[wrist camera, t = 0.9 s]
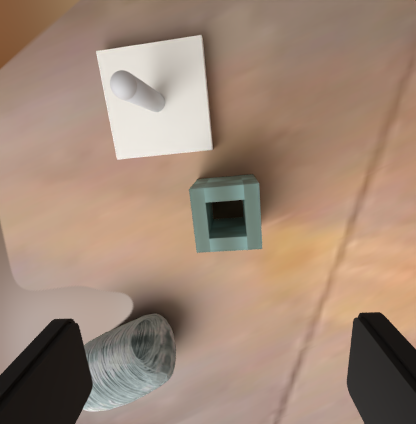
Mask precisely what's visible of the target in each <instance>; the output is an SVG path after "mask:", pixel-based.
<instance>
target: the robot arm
mask: <svg viewBox="0 0 416 424" xmlns="http://www.w3.org/2000/svg"><path fill="white" fill-rule="evenodd" d="M92 387H93V381H92V377H91V373H90V369H89V365H88V361H87V357H86V353H85V349H84V345H83V341H82V337H81V333H80V329H79V325H78V324H77V323H75V322H74V321H73V319H54V320H53V321H51V322H50V323H49V324H48V325H47V326H46V327H45V329H44V330H43V331H42V332H41V333H40V334H39V335H38V336H37V337H36V338H35V339H34V340H33V341H32V342H31V343H30V344H29V345H28V346H27V348H26V349H25V350H24V351H23V352H22V353H21V354H20V355H19V356H18V357H17V358H16V359H15V360H14V361H13V362H12V363H11V364H10V365H9V366H8V368H7V369H6V370H5V371H4V372H3V373H2V374H1V375H0V424H75V423H76V421H77V419H78V417H79V415H80V413H81V411H82V409H83V407H84V405H85V404H86V402H87V400H88V398H89V396H90V394H91V391H92ZM347 387H348V391H349V393H350V396H351V398H352V400H353V402H354V404H355V406H356V408H357V410H358V412H359V414H360V415H361V417H362V419H363V421H364V423H365V424H416V349H415V348H414V347H413V346H412V345H411V344H410V343H409V342H408V341H407V340H406V338H405V337H404V336H403V335H402V334H401V333H400V332H399V331H398V330H397V329H396V328H395V327H394V326H393V325H392V323H391V322H390V321H389V320H388V319H387V318H386V317H385V316H384V315H383V314H382V313H379V312H374V313H360V314H359V316H358V318H354V321H353V329H352V338H351V347H350V356H349V366H348V375H347Z"/></svg>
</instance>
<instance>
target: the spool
mask: <svg viewBox="0 0 416 424" xmlns="http://www.w3.org/2000/svg"><path fill="white" fill-rule="evenodd" d="M84 349H85V353H86V357H87V361H88V365H89V369H90V373H91V377H92V381H93V387H92V391H91V394H90V396H89V398H88V400H87V402H86V404H85V405H84V407H83V409H84V410H87V411H105V410H110V409H113V408H115V407H119V406H123V405H125V404H128V403H131V402H133V401H135V400H137V399H138V398H140V397H143V396H144V395H146V394H148V393H150V392H152V391H153V390H155V389H156V388H158V387H160V386H161V385H162V384H164V383H165V382H167V381H168V380H169V379H170V377H171V376H172V374H173V371H174V367H175V361H176V346H175V339H174V335H173V331H172V328H171V326H170V325H169V323H168V322H167V320H166V319H165V318H164V317H163V316H161V315H159V314H156V313H155V314H149V315H144V316H141V317H140V318H138V319H136V320H133V321H131V322H128V323H126V324H124V325H122V326H119V327H117V328H115V329H113V330H111V331H109V332H106V333H104V334H102V335H100V336H99V337H97V338H95V339H93V340H92V341H90V342H88V343H87V344H85V345H84Z"/></svg>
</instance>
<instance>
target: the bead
mask: <svg viewBox="0 0 416 424" xmlns="http://www.w3.org/2000/svg"><path fill="white" fill-rule="evenodd" d="M189 193H190V201H191V209H192V217H193V225H194V234H195V242H196V250H197V253H199V252H217V251H235V250H252V249H262V233H261V212H260V191H259V182H258V181H257V179H256V178H255V176H254V175H253V174H250V175H238V176H227V177H216V178H205V179H197V181H196V182H195V183H194V184H193V185H192V186H191V188H190V189H189ZM233 200H242V201H243V216H244V217H234V218H220V219H214V218H213V208H212V202H220V201H233Z"/></svg>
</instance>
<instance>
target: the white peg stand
mask: <svg viewBox="0 0 416 424" xmlns="http://www.w3.org/2000/svg"><path fill="white" fill-rule="evenodd" d="M96 54H97V59H98V64H99V69H100V74H101V79H102V84H103V89H104V94H105V99H106V105H107V110H108V115H109V120H110V125H111V130H112V135H113V140H114V145H115V151H116V156H117V159H127V158H137V157H147V156H156V155H166V154H176V153H186V152H196V151H205V150H213V141H212V131H211V120H210V109H209V98H208V88H207V77H206V66H205V55H204V45H203V39H202V35H198V36H191V37H185V38H178V39H172V40H166V41H159V42H153V43H146V44H140V45H133V46H127V47H121V48H114V49H108V50H101V51H96Z"/></svg>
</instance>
